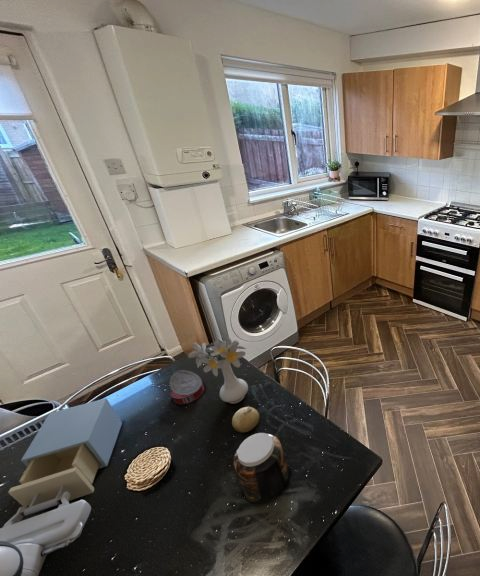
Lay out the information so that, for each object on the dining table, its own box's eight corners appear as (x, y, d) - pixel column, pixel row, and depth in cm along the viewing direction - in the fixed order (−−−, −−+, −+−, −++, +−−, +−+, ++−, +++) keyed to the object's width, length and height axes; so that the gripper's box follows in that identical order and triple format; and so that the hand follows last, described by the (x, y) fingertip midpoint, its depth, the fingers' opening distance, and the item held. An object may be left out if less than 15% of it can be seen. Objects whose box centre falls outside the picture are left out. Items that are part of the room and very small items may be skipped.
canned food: (197, 391, 120) (203, 367, 119) (204, 404, 113) (210, 379, 112) (162, 394, 112) (168, 369, 111) (167, 409, 105) (173, 382, 104)
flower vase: (218, 383, 117) (198, 330, 105) (266, 384, 116) (251, 331, 104) (198, 412, 106) (173, 356, 94) (251, 414, 105) (233, 358, 93)
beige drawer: (86, 511, 79) (66, 489, 74) (21, 534, 74) (-5, 513, 69) (110, 445, 94) (94, 424, 89) (57, 462, 90) (38, 440, 85)
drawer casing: (107, 466, 90) (87, 440, 84) (45, 486, 85) (20, 460, 79) (122, 422, 102) (106, 397, 97) (69, 438, 98) (49, 413, 92)
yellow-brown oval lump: (249, 439, 97) (244, 424, 93) (229, 432, 99) (223, 417, 96) (265, 418, 103) (261, 403, 100) (246, 412, 106) (241, 397, 102)
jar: (270, 511, 79) (258, 477, 72) (234, 494, 83) (219, 460, 75) (296, 467, 89) (288, 434, 81) (263, 454, 92) (252, 421, 85)
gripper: (70, 535, 66) (92, 475, 77) (-66, 586, 59) (-20, 512, 70) (84, 548, 69) (104, 489, 80) (-43, 599, 62) (-3, 526, 73)
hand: (45, 500), depth 75 cm, fingers closed on beige drawer, 6 cm apart
